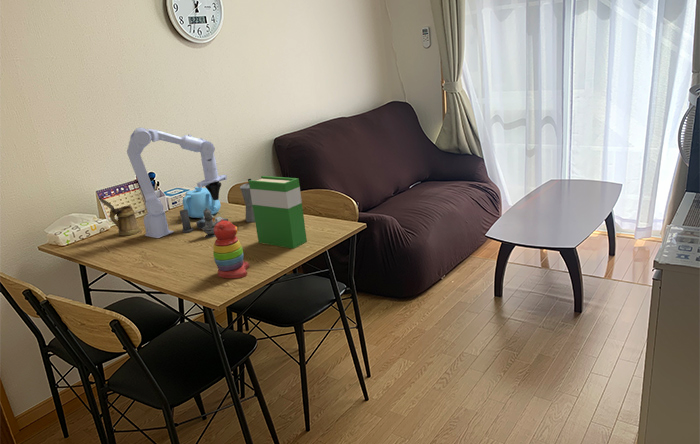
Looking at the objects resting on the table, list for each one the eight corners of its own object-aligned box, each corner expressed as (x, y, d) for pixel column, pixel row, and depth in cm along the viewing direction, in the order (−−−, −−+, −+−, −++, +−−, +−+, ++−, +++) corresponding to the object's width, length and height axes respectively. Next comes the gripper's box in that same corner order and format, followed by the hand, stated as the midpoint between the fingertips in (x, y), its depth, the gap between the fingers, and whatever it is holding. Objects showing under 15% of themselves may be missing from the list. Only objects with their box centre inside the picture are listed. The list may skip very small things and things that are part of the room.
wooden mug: (105, 237, 221) (94, 197, 215) (135, 227, 230) (125, 188, 225) (114, 240, 215) (103, 199, 210) (144, 230, 225) (135, 190, 219)
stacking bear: (246, 277, 165) (237, 224, 159) (214, 281, 165) (204, 228, 159) (250, 264, 175) (241, 214, 170) (220, 267, 175) (210, 217, 169)
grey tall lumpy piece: (205, 234, 212) (200, 206, 208) (220, 232, 212) (214, 204, 208) (202, 239, 206) (197, 210, 202) (217, 237, 206) (212, 208, 203)
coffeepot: (239, 218, 228) (232, 179, 222) (258, 213, 233) (252, 174, 227) (255, 226, 216) (248, 184, 210) (275, 220, 221) (269, 179, 215)
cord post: (180, 232, 218) (175, 211, 215) (188, 228, 221) (184, 208, 218) (186, 233, 215) (182, 212, 212) (195, 230, 218) (191, 209, 216)
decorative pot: (218, 218, 232) (213, 189, 228) (182, 222, 231) (176, 193, 227) (224, 208, 247) (219, 180, 243) (190, 212, 247) (184, 184, 242)
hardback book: (258, 242, 195) (248, 180, 188) (271, 236, 201) (262, 175, 194) (293, 248, 185) (284, 183, 178) (306, 241, 191) (298, 178, 184)
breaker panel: (197, 228, 220) (195, 218, 219) (212, 222, 226) (210, 212, 225) (214, 231, 214) (212, 221, 212) (229, 225, 220) (227, 215, 218)
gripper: (202, 173, 212) (208, 205, 216) (229, 165, 223) (234, 195, 227) (191, 172, 216) (197, 203, 220) (218, 164, 227) (224, 194, 231)
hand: (215, 199), depth 224 cm, fingers closed
